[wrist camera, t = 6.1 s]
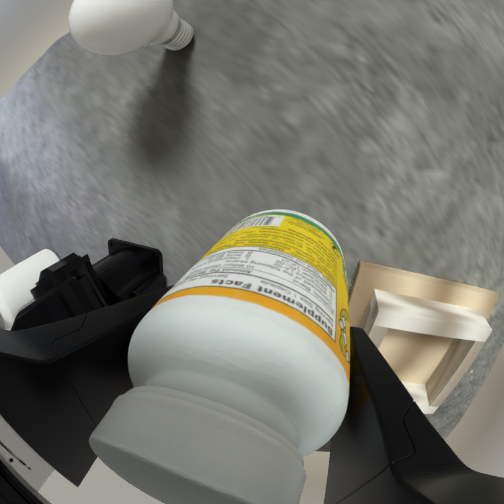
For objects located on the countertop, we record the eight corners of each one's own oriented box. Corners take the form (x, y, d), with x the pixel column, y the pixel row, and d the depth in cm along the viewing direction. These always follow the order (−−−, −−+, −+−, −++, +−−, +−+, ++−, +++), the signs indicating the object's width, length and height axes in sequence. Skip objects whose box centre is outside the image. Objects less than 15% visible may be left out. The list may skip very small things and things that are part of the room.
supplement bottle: (253, 182, 11) (26, 341, 2) (371, 249, 10) (413, 512, 2) (206, 285, 13) (74, 451, 5) (305, 338, 13) (252, 538, 4)
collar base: (317, 381, 26) (312, 410, 23) (359, 260, 20) (363, 286, 17) (431, 395, 23) (436, 422, 20) (494, 291, 18) (512, 315, 14)
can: (66, 257, 30) (-4, 302, 19) (71, 297, 33) (12, 343, 22) (40, 241, 31) (-24, 277, 20) (45, 278, 34) (-11, 317, 23)
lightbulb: (217, -2, 15) (137, -66, 5) (220, 63, 17) (126, 17, 7) (150, 19, 16) (56, -14, 7) (150, 80, 19) (43, 67, 9)
